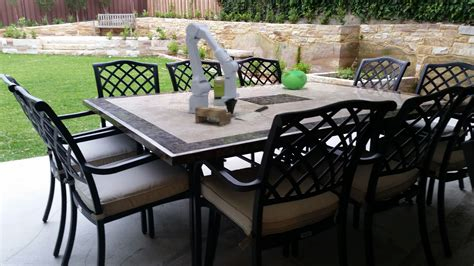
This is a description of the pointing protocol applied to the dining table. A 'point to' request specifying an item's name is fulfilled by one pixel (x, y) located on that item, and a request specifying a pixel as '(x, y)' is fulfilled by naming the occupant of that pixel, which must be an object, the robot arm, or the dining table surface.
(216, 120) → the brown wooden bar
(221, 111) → the wooden bridge block
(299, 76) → the green cabbage
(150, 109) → the dining table surface
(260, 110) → the kitchen cleaver
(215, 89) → the tea box
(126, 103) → the dining table surface
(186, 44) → the robot arm
